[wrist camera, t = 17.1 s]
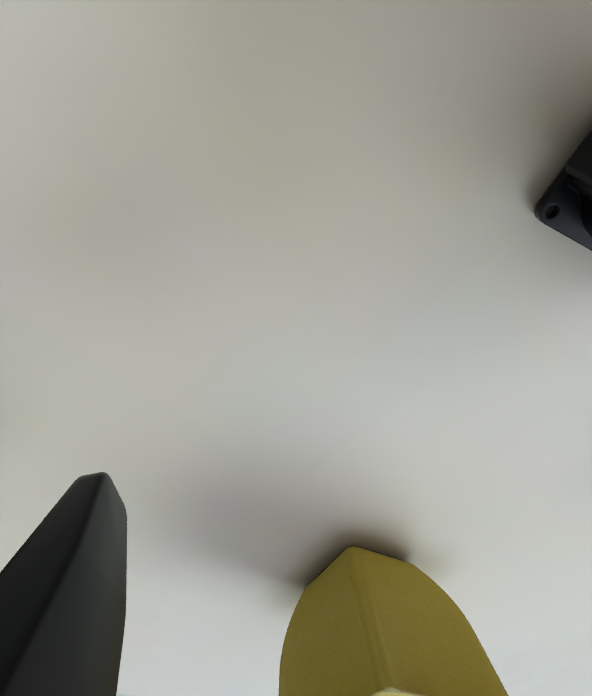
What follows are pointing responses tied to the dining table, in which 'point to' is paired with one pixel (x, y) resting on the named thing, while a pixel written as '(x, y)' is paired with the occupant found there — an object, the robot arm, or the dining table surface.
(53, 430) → the dining table surface
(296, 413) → the dining table surface
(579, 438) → the dining table surface
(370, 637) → the flower pot
